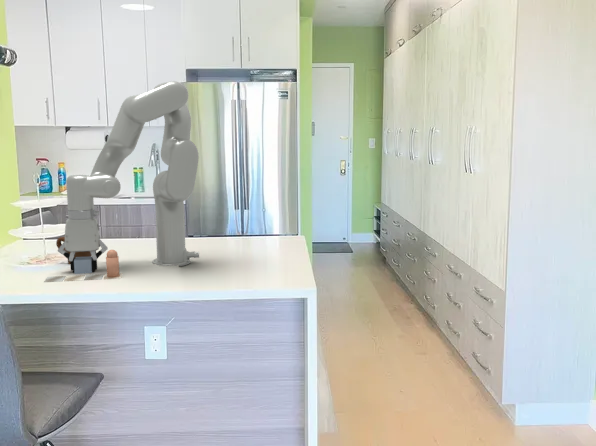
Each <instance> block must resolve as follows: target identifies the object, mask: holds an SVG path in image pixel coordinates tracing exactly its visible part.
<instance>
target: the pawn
mask: <svg viewBox="0 0 596 446" xmlns="http://www.w3.org/2000/svg"><path fill="white" fill-rule="evenodd" d="M106 252H107V253H106V256H105V259H106V260H105V263H106V265H105V266H106V274H107V277H110V278H114V277H118V276H119V273H120V262H119V259H120V257H119V255H118V252H117V250H115V249H110V250H108V251H106Z"/></svg>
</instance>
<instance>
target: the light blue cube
mask: <svg viewBox="0 0 596 446" xmlns="http://www.w3.org/2000/svg"><path fill="white" fill-rule="evenodd" d="M74 272H75V273H74V275H79V274H80V275H84V274H92V273H93V272H92V256H90V257H76V258H75V260H74Z"/></svg>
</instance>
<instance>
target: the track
mask: <svg viewBox="0 0 596 446" xmlns="http://www.w3.org/2000/svg"><path fill="white" fill-rule="evenodd" d="M112 279H113V280H115V279H118V280H120V279H123V273H121V272H119V276H118V277H114V278H110V277H107V273H105V274H104V273H100V274H80V275H79V274H74V275H61V276H60V275H59V276H58V275H57V276H47V277H46V278H45V280H44V281H43V283H55V282H57V283H58V282H75V281H76V282H77V281H94V280H95V281H96V280H112Z"/></svg>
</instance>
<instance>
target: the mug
mask: <svg viewBox="0 0 596 446" xmlns="http://www.w3.org/2000/svg"><path fill="white" fill-rule="evenodd" d="M64 241H65V236H61V237H58V238H57V239H56V243H55V244H56V247H57V250H58V249H59V248H60V246H61V245H62V244H63V243H64ZM62 242H63V243H62ZM64 250H65V251H66V249H65V248H64ZM66 252H68V251H66ZM68 253H69V254H70V253H71V252H68ZM90 256H92V255H91V252H90V251H86V252H76V253H75V257H74V258H76V257H90ZM67 264H68V265H70V261H69V259H67Z"/></svg>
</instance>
